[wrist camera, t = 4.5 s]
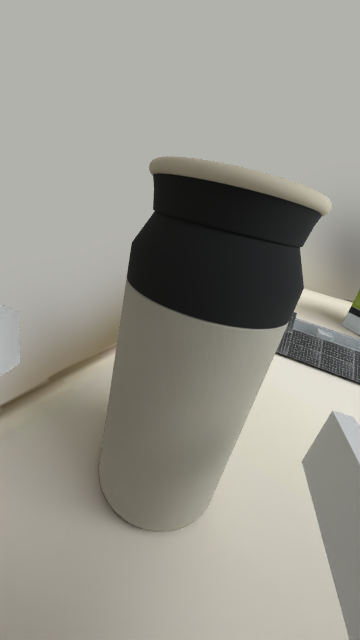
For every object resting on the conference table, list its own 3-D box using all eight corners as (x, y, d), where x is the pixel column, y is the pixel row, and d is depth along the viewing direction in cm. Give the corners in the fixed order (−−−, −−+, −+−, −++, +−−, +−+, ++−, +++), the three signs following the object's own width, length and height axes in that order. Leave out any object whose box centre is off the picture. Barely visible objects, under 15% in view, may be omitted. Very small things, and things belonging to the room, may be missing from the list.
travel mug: (230, 527, 15) (396, 211, 8) (92, 544, 13) (157, 133, 6) (196, 422, 22) (270, 203, 15) (102, 422, 20) (138, 165, 13)
